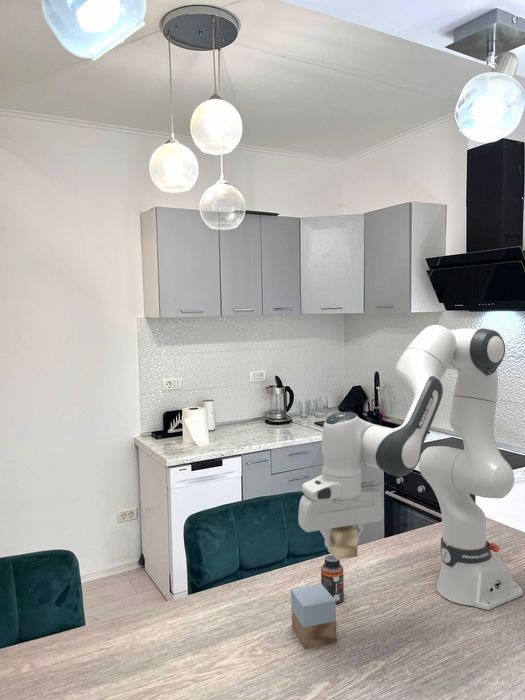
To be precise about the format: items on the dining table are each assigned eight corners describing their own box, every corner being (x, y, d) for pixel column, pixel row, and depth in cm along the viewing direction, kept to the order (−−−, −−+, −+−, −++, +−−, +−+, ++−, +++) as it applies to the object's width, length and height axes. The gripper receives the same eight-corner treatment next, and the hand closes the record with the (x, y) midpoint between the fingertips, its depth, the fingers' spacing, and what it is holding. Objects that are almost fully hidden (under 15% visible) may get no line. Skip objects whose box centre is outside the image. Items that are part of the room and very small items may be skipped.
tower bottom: (322, 623, 128) (321, 603, 128) (336, 642, 120) (336, 621, 120) (292, 629, 126) (291, 609, 125) (304, 649, 118) (304, 628, 118)
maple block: (347, 547, 121) (346, 522, 121) (357, 556, 116) (357, 530, 116) (327, 550, 119) (327, 525, 119) (337, 559, 115) (337, 533, 114)
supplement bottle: (343, 606, 135) (342, 564, 135) (320, 604, 136) (319, 562, 136) (344, 594, 141) (343, 553, 140) (322, 592, 142) (321, 552, 142)
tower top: (321, 603, 128) (321, 583, 128) (335, 621, 120) (335, 600, 120) (291, 609, 125) (291, 589, 125) (303, 628, 118) (303, 606, 118)
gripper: (374, 476, 123) (374, 532, 124) (295, 485, 117) (295, 545, 118) (389, 483, 117) (389, 543, 118) (306, 494, 111) (306, 556, 112)
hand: (342, 544), depth 118 cm, fingers closed on maple block, 5 cm apart
